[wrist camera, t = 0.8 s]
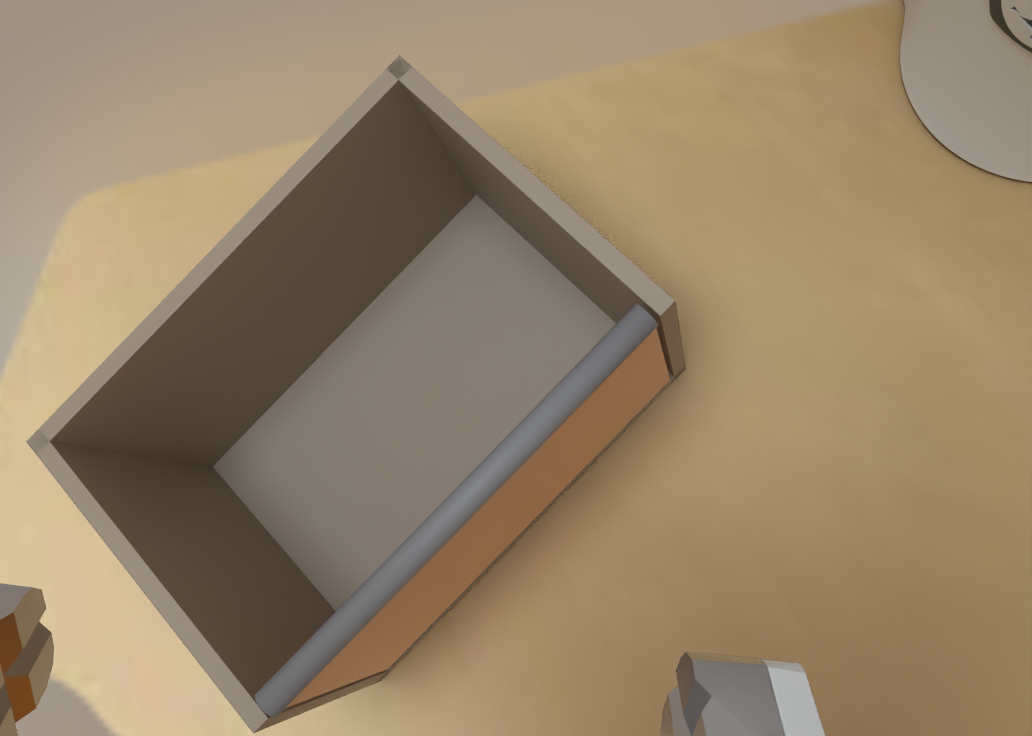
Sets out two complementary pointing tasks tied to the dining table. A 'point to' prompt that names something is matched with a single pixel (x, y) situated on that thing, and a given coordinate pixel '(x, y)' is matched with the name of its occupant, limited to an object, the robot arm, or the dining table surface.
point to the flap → (479, 516)
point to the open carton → (336, 378)
